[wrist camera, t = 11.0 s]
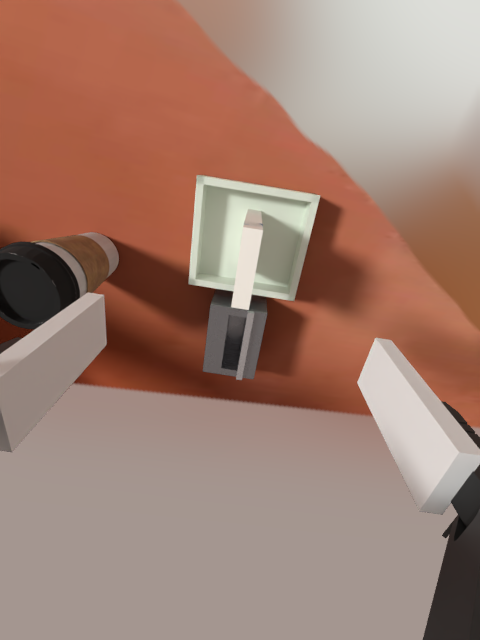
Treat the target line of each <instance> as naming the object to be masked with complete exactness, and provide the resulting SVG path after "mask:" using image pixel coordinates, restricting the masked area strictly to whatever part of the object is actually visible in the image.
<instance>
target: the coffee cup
mask: <svg viewBox="0 0 480 640" xmlns="http://www.w3.org/2000/svg"><path fill="white" fill-rule="evenodd" d="M118 263H119V255H118V251H117V249H116V247H115V245H114V244H113V242H112V241H111V240H110V239H108V238H107V237H106V236H104V235H102V234H99V233H93V232H91V233H84V234H79V235H72V236H66V237H59V238H53V239H46V240H39V241H33V242H16V243H12V244H10V245H7V246H5V247H3V248H2V249H0V317H1V318H3V319H4V320H5V321H7V322H9V323H11V324H13V325H15V326H18V327H21V328H26V329H36V328H38V327H39V326H41V325H42V324H44V323H45V322H46V321H48V320H49V319H51V318H52V317H54V316H55V315H56V314H58V313H59V312H61V311H62V310H64V309H65V308H66V307H68V306H69V305H71V304H72V303H74V302H75V301H76V300H78V299H79V298H81V297H82V296H84V295H85V294H86V293H88V292H89V293H93V292H94V291H95V290H96V289H97V288H98V286H99V285H100V284H101V283H102V282H103V281H104V280H105V279H106V278H107V277H108V276H110V275H111V274H112V273H113V272H114V271H115V270H116V268H117V266H118Z"/></svg>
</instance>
